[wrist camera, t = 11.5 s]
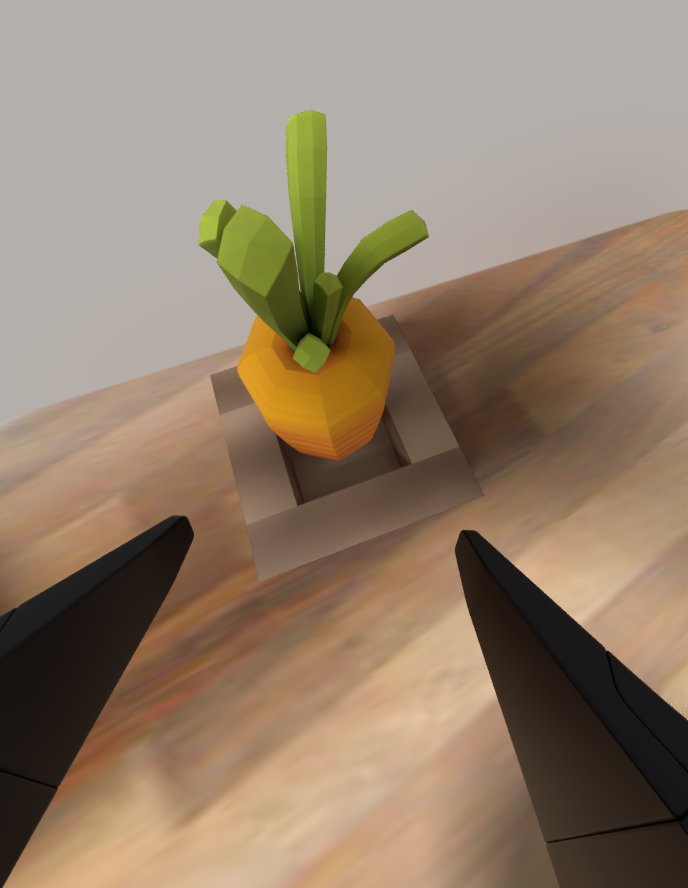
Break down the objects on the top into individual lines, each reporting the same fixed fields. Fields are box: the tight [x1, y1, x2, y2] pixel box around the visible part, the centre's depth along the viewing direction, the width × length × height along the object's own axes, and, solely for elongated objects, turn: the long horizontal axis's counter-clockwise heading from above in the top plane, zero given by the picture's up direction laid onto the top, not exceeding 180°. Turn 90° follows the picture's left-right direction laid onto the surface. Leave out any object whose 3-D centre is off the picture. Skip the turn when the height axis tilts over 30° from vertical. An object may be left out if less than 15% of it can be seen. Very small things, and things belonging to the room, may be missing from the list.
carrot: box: [199, 110, 429, 461], centre depth 10 cm, size 5×5×15 cm
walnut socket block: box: [210, 315, 484, 581], centre depth 17 cm, size 13×13×4 cm
